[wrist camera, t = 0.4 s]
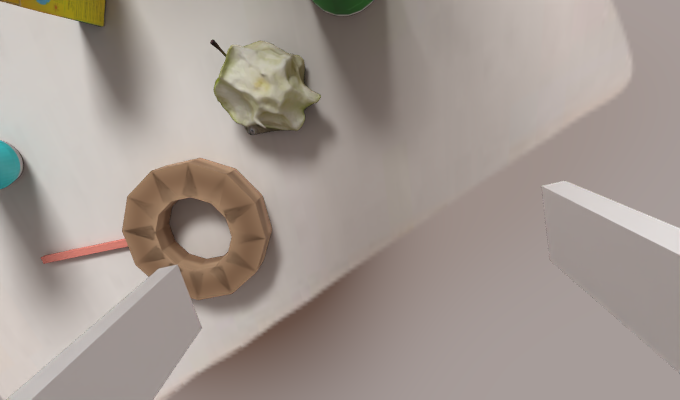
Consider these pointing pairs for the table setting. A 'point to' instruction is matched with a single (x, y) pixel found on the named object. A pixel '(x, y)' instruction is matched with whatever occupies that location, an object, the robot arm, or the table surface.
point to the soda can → (342, 6)
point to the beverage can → (9, 164)
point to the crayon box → (67, 9)
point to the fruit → (263, 87)
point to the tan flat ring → (209, 186)
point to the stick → (84, 251)
